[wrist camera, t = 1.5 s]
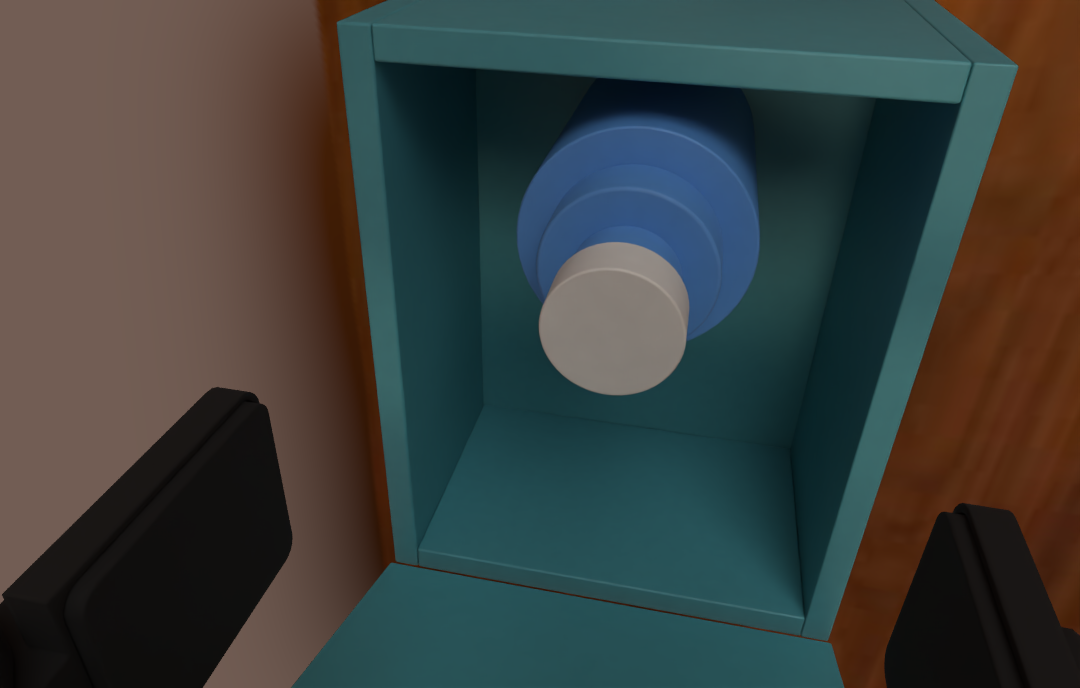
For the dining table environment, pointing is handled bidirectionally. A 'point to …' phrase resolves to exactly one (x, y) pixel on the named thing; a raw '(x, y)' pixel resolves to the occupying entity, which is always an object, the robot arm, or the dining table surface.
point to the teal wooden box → (708, 360)
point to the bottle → (640, 229)
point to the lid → (546, 643)
